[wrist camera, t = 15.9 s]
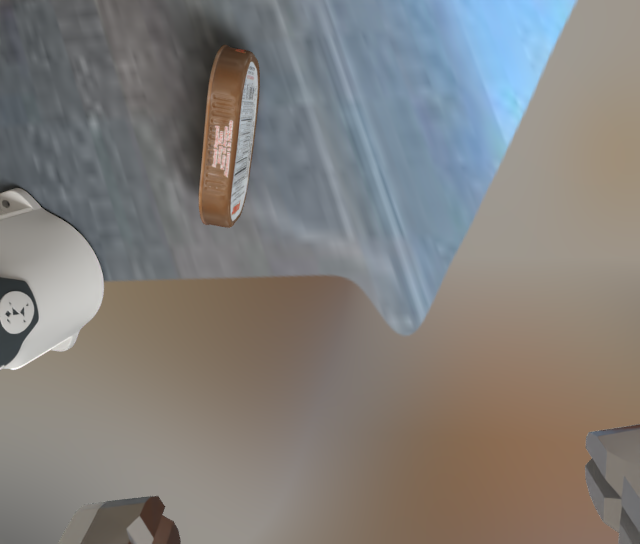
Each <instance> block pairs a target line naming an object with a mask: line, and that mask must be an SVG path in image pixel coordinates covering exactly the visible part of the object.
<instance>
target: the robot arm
mask: <svg viewBox="0 0 640 544" xmlns="http://www.w3.org/2000/svg"><path fill="white" fill-rule="evenodd" d="M7 201H8V202H9V204H10V206H9V205H8V203H7ZM103 293H104V280H103V274H102V270H101V267H100V264H99V261H98V259H97V257H96V255H95V253H94V251H93V249H92V248H91V246H90V245H89V243H88V242H87V241H86V240H85V238H84V237H83V236H82V235H81V234H80V233H79V232H78V231H77V230H76V229H75V228H73V227H72V226H71V225H70V224H68V223H67V222H65V221H64V220H62V219H60V218H58V217H56V216H55V215H53V214H51V213H49V212H47V211H46V210H44V209H43V208H42V207H41V206H40V205H39V204H38V203H37V202H36V201H35V200H34V198H33V197H32V196H30V195H29V194H28V193H27V192H26V191H24V190H23V189H20V188H14V189H11V190H8V191H5V192H2V193H0V370H1V369H2V368H5V369H9V368H10V369H11V370H15V369H19V368H21V367H23V366H24V365H26V364H28V363H29V362H31V361H33V360H34V359H36V358H38V357H39V356H41V355H43V354H44V353H46V352H48V351H49V350H54V351H66V350H67V349H69V348H71V347H72V346H73V345H74V344H75V341H76V339H77V336H78V333H79V331H80V329H81V328H82V327H83V326H84V325H85V324H86V323H88V322H89V321H90V320H91V319H92V318H93V317H94V316H95V314H96V313H97V311H98V309H99V307H100V305H101V302H102V299H103ZM586 449H587V450H588V452H589V454H590V455H591V457H592V459H591V460H590V461H589V462H588V463H587V464H586V466H585V474H586V483H587V486H588V490H589V494H590V496H591V499H592V501H593V504H594V506H595V508H596V510H597V512H598V514H599V515H600V517H601V519H602V521H603V522H604V523H605V524H607V525H608V526H610V527H611V528H613V529H614V530H615V531H617V532H618V533H619V544H640V424H638V425H632V426H626V427H619V428H613V429H607V430H600V431H594V432H589V433H588V435H587V437H586ZM164 509H165V506H164V504H163V502H162V501H161V499H160V498H159V496H150V497H141V498H132V499H123V500H115V501H107V502H99V503H92V504H84V505H83V506H82V507H81V508H79V509H78V510H77V511H76V512H75V514H74V516H73V517H72V519H71V521H70V523H69V525H68V526H67V528H66V530H65V531H64V533H63V535H62V537H61V539H60V541H59V542H58V544H181V540H180V535H179V531H178V528H177V526H176V525H175V523H174V521H172V520H170V519H168V518H167V517H165V516H163V515H162V514H163V512H164Z"/></svg>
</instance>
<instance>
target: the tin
mask: <svg viewBox="0 0 640 544" xmlns="http://www.w3.org/2000/svg"><path fill="white" fill-rule="evenodd" d="M259 88H260V73H259V64H258V61H257V59H256V57H255V56H254V54H253V53H252V52H250V51H247V50H242V49H236V48H231V47H229V46H228V45H223V46H221V48H220V49H219V50H218V52H217V54H216V56H215V59H214V62H213V66H212V70H211V74H210V79H209V86H208V94H207V104H206V116H205V127H204V139H203V151H202V162H201V173H200V183H199V212H200V217H201V220H202V222H203V223H204V224H205V225H209V224H210V225H216V226H221V227H228V228H229V227H232V226H233V225H234V223H235V222H236V221H237V219H238V218H239V217H240V215H241V213H242V210H243V206H244V203H245V198H246V194H247V188H248V182H249V174H250V167H251V160H252V153H253V145H254V137H255V129H256V121H257V112H258V103H259Z"/></svg>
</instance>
